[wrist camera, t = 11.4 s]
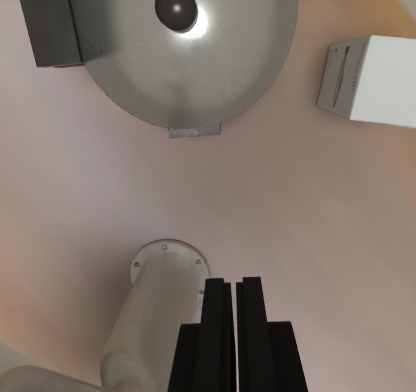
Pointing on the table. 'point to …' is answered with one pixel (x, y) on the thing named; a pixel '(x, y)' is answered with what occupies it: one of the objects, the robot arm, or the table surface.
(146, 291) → the robot arm
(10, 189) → the table surface
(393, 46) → the supplement box
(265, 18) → the cooker lid
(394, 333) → the table surface
